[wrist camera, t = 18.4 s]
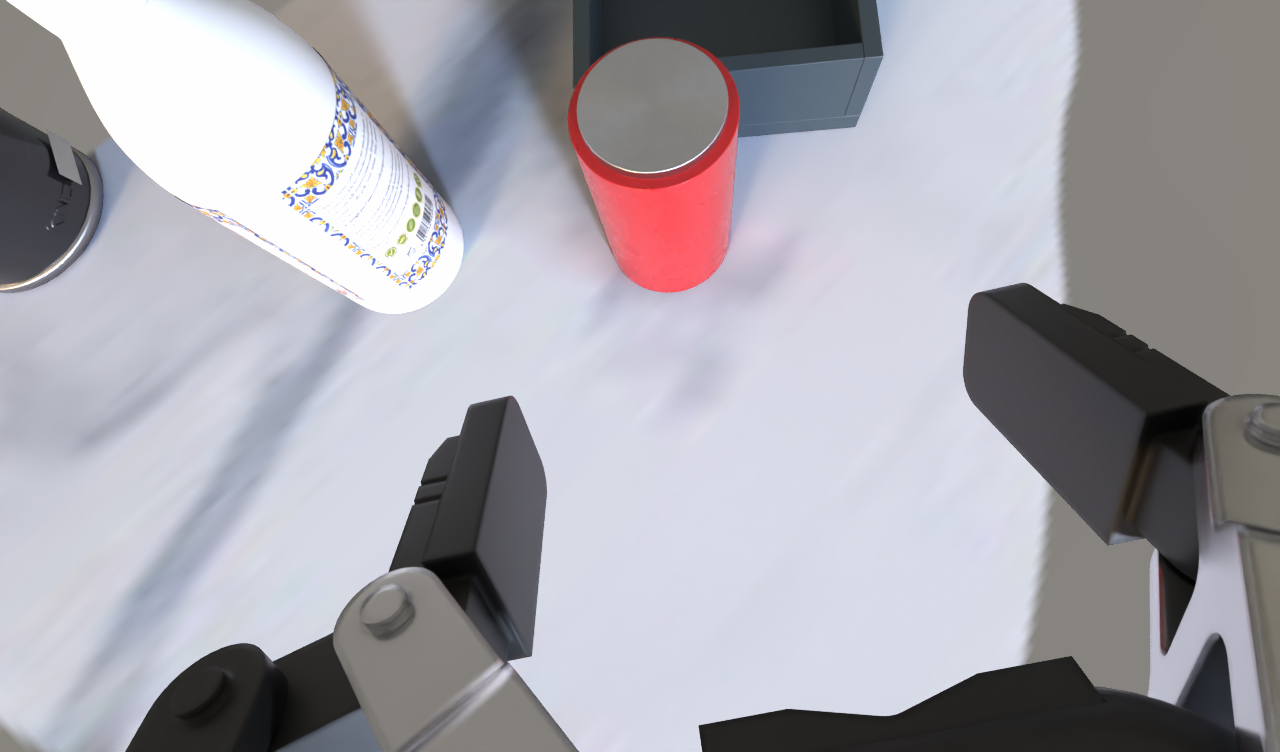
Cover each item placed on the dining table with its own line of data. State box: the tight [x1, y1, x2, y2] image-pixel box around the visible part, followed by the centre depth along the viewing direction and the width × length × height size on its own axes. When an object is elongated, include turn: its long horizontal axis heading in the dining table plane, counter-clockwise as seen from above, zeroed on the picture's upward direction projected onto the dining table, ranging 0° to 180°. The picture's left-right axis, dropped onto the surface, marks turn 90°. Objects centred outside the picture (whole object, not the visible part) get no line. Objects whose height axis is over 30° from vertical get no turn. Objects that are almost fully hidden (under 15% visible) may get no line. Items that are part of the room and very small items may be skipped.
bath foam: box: [6, 0, 464, 313], centre depth 22 cm, size 7×7×20 cm
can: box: [568, 37, 740, 292], centre depth 25 cm, size 6×6×10 cm
